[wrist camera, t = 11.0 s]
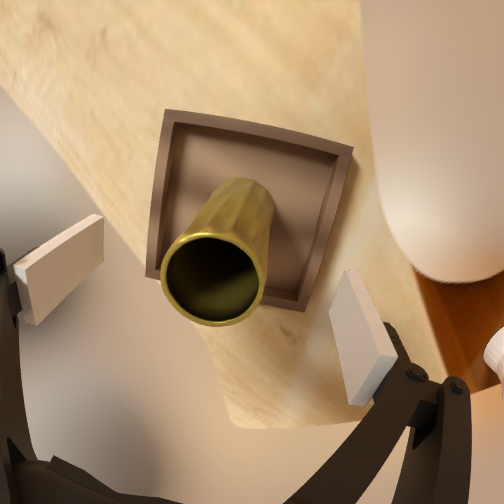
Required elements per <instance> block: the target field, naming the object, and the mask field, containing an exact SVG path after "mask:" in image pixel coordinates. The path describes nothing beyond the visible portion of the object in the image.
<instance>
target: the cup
mask: <svg viewBox="0 0 504 504" xmlns="http://www.w3.org/2000/svg"><path fill="white" fill-rule="evenodd" d="M483 358H484V361H485V363H486V364H487V365H488V366H489V367H490V368H491V369H492V370H493V371H494V372H495V373H496V374H497V375H498V377H499V379H500V381H501V384H502V399H503V403H504V327H503V328H501V329H500V330H499V331H498V332H497V333H496V334H495V335H494V336H493V337H492V338H491V340H490V341H489V343H488V344H487V346H486V348H485V351H484V355H483Z"/></svg>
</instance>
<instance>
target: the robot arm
mask: <svg viewBox="0 0 504 504" xmlns="http://www.w3.org/2000/svg"><path fill="white" fill-rule="evenodd" d="M103 233H104V216H99V215H95V214H92V215H90V216H89V217H87V218H85V219H83V220H82V221H80V222H78V223H77V224H75V225H73V226H72V227H70V228H68V229H67V230H65V231H63V232H62V233H61V234H59V235H57V236H55V237H54V238H53V239H51V240H49V241H48V242H46V243H44V244H43V245H41V246H39V247H36V248H34V249H32V250H31V251H29V252H28V253H27V254H25V255H23V256H22V257H20V258H19V259H17V260H16V261H15V262H13V263H12V264H10V265H9V266H6V260H5V254H4V250H3V249H0V504H181V503H178V502H174V501H170V500H166V499H163V498H159V497H147V496H137V495H128V494H121V493H117V492H115V491H113V490H112V489H110V488H109V487H107V486H106V485H104V484H103V483H101V482H100V481H98V480H97V479H96V478H94V477H93V476H91V475H90V474H89V473H87V472H86V471H85V470H82V469H80V468H78V467H76V466H74V465H72V464H70V463H68V462H66V461H64V460H62V459H59V458H58V457H56V456H53V457H52V459H51V461H50V462H48V461H41V460H38V459H37V457H36V455H35V453H34V450H33V447H32V444H31V439H30V434H29V429H28V423H27V417H26V411H25V405H24V397H23V389H22V380H21V369H20V353H19V320H18V316H17V314H18V313H19V312H20V311H21V310H22V312H23V316H24V320H25V321H26V322H28V323H30V324H33V325H35V326H37V325H38V324H39V323H40V322H41V321H42V320H43V319H44V318H45V317H46V316H47V315H48V314H49V313H50V312H51V311H52V310H53V309H54V308H55V307H56V306H57V305H58V304H59V303H60V302H61V301H62V300H63V299H64V298H65V297H66V296H67V295H68V294H69V293H70V292H71V291H72V290H73V289H74V288H75V287H76V286H77V285H79V284H80V283H81V282H82V281H83V280H84V279H85V278H86V277H87V276H88V275H89V274H90V273H91V272H92V271H94V269H96V268H97V267H98V266H99V265H100V264H101V263H102V262H103V261H104V257H103ZM328 313H329V317H330V321H331V325H332V330H333V334H334V338H335V342H336V347H337V351H338V356H339V360H340V365H341V369H342V374H343V379H344V384H345V389H346V393H347V398H348V404H349V405H353V406H366V405H367V404H368V402H369V401H370V400H371V398H372V397H373V400H374V403H375V404H374V405H373V406H372V408H371V409H370V410H369V412H368V413H367V414H366V415H365V417H364V418H363V419H362V421H361V422H360V423H359V424H358V426H357V427H356V428H355V429H354V430H353V432H352V433H351V434H350V435H349V436H348V438H347V439H346V440H345V441H344V442H343V444H342V445H341V446H340V447H339V448H338V449H337V450H336V452H335V453H334V454H333V455H332V456H331V457H330V458H329V459H328V460H327V462H325V463H324V465H323V466H322V467H321V468H320V469H319V470H318V471H317V472H316V473H315V474H314V475H313V476H312V477H311V478H310V479H309V480H308V481H307V482H306V483H305V484H304V485H303V486H302V487H301V488H300V489H299V490H298V491H297V492H296V493H294V494H293V495H292V496H291V497H290V498H289V499H288V500H286V502H284V503H283V504H355V503H356V502H357V501H358V499H359V498H360V497H361V496H362V494H363V493H364V491H365V490H366V489H367V487H368V486H369V485H370V483H371V482H372V480H373V479H374V478H375V476H376V475H377V473H378V472H379V470H380V469H381V467H382V466H383V464H384V463H385V461H386V460H387V458H388V456H389V455H390V453H391V452H392V450H393V448H394V446H395V445H396V443H397V442H398V440H399V438H400V436H401V435H402V433H403V431H404V429H405V428H406V426H409V427H411V428H410V434H409V438H408V443H407V448H406V452H405V457H404V461H403V465H402V469H401V473H400V477H399V480H398V484H397V487H396V491H395V494H394V497H393V500H392V503H391V504H468V497H469V487H470V474H471V455H472V426H471V425H472V423H471V401H470V391H469V388H468V386H467V385H466V383H465V382H463V380H461V379H459V378H457V377H454V376H450V377H447V378H446V379H445V381H444V382H443V383H442V384H439V383H436V382H433V381H430V380H429V377H428V375H427V373H426V372H425V370H424V369H423V368H421V367H420V366H418V365H416V364H414V363H411V361H410V359H409V357H408V355H407V352H406V350H405V348H404V346H403V345H402V342H401V340H400V339H399V336H398V334H397V332H396V330H395V329H394V328H393V327H392V326H391V325H390V324H389V323H387V322H382V320H381V318H380V316H379V313H378V311H377V309H376V307H375V305H374V303H373V301H372V299H371V297H370V295H369V293H368V291H367V289H366V287H365V285H364V283H363V281H362V279H361V277H360V275H359V273H358V272H357V271H352V270H348V269H345V270H344V272H343V275H342V278H341V281H340V283H339V286H338V289H337V291H336V294H335V297H334V299H333V302H332V304H331V307H330V309H329V312H328Z"/></svg>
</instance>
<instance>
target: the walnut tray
mask: <svg viewBox="0 0 504 504" xmlns="http://www.w3.org/2000/svg"><path fill="white" fill-rule="evenodd" d="M352 151H353V147H351V146H347V145H344V144H341V143H337V142H334V141H330V140H326V139H323V138H319V137H315V136H311V135H308V134H304V133H300V132H295V131H291V130H287V129H283V128H278V127H274V126H269V125H264V124H259V123H254V122H249V121H244V120H239V119H233V118H227V117H221V116H215V115H209V114H202V113H195V112H187V111H179V110H170V109H165V113H164V118H163V123H162V129H161V135H160V141H159V147H158V154H157V161H156V168H155V175H154V183H153V191H152V199H151V209H150V219H149V230H148V242H147V256H146V274H145V277H149V278H152V279H156V280H160V281H161V278H160V271H161V265H162V261H163V259H164V257H165V255H166V253H167V251H168V250H169V248H170V247H171V245H172V244H173V243H174V241H175V240H176V239H177V238H178V237H179V236H180V235H181V234H182V233H183V232H184V231H185V230H187V229H188V227H189V225H190V224H191V222H192V221H193V219H194V218H195V216H196V215H197V213H198V212H199V210H200V209H201V208H202V207H203V205H204V204H205V203H206V202H207V201H208V200H209V198H210V196H211V194H212V192H213V191H214V190H215V189H216V188H217V187H218V186H219V185H220V184H221V183H222V182H224V181H226V180H229V179H232V178H238V177H242V178H248V179H252V180H255V181H256V182H258V183H259V184H261V185H262V186H263V187H265V188H266V189H267V190H268V192H269V193H270V195H271V197H272V199H273V202H274V206H275V215H274V220H273V223H272V224H271V228H270V235H269V242H268V267H267V278H266V282H265V287H264V291H263V296H262V299H261V301H260V304H265V305H270V306H274V307H279V308H284V309H289V310H294V311H300V312H305V309H306V306H307V303H308V301H309V298H310V295H311V292H312V289H313V286H314V283H315V280H316V277H317V274H318V270H319V267H320V264H321V261H322V258H323V255H324V252H325V248H326V245H327V242H328V238H329V235H330V232H331V228H332V225H333V222H334V218H335V215H336V211H337V208H338V204H339V201H340V197H341V193H342V190H343V186H344V182H345V179H346V175H347V171H348V167H349V163H350V159H351V155H352Z"/></svg>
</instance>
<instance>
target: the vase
mask: <svg viewBox="0 0 504 504" xmlns="http://www.w3.org/2000/svg"><path fill="white" fill-rule="evenodd" d="M274 215H275V206H274V202H273V199H272V197H271V195H270V193H269V192H268V190H267V189H266V188H265V187H263V186H262V185H261V184H259V183H258V182H256V181H255V180H252V179H248V178H242V177H238V178H232V179H229V180H226V181H224V182H222V183H221V184H220V185H219V186H218V187H217V188H216V189H215V190H214V191H213V192H212V194H211V196H210V198H209V200H208V201H207V202H206V203H205V204H204V205H203V207H202V208H201V209H200V210H199V212H198V213H197V215H196V216H195V218H194V219H193V221H192V222H191V224H190V225H189V227H188V229H187V230H185V231H184V232H183V233H182V234H181V235H180V236H179V237H178V238H177V239H176V240H175V241H174V243H173V244H172V245H171V247H170V248H169V250H168V251H167V253H166V255H165V257H164V259H163V261H162V265H161V271H160V278H161V285H162V289H163V292H164V293H165V295H166V297H167V299H168V300H169V302H170V303H171V304H172V306H173V307H174V308H175V309H176V310H177V311H178V312H180V313H181V314H182V315H183V316H185V317H186V318H188V319H190V320H191V321H193V322H195V323H198V324H201V325H205V326H211V327H220V326H228V325H233V324H236V323H238V322H240V321H242V320H244V319H245V318H247V317H248V316H249V315H250V314H251V313H252V312H253V310H254V309H255V308H256V307H257V305H258V304H259V303H260V301H261V299H262V296H263V291H264V287H265V282H266V278H267V267H268V242H269V235H270V228H271V224H272V223H273V220H274Z"/></svg>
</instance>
